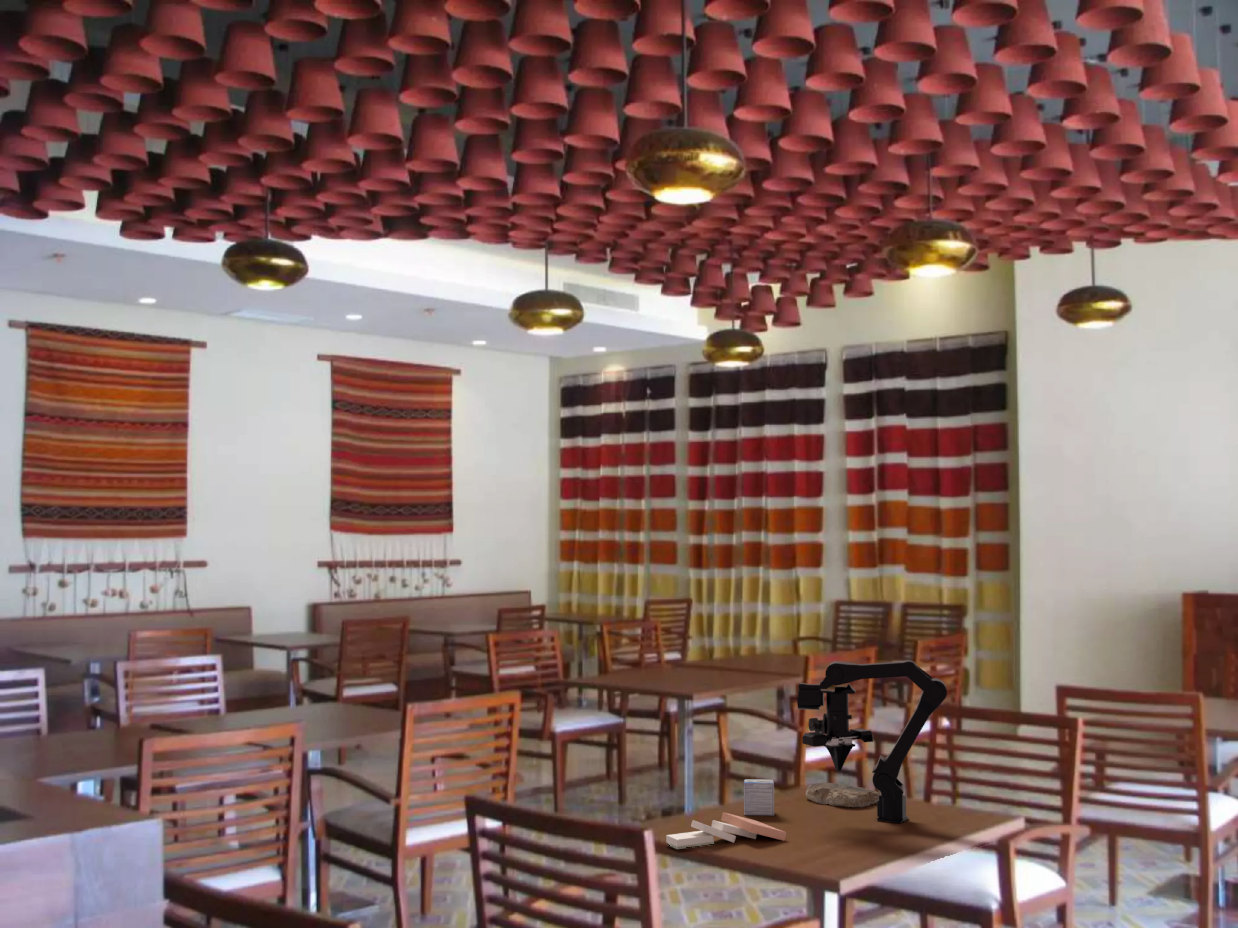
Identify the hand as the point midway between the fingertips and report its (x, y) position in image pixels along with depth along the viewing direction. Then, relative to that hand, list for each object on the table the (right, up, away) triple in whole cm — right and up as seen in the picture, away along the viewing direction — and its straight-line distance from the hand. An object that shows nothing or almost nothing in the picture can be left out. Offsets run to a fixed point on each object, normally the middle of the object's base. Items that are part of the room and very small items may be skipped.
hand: (838, 770), depth 326 cm
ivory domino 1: (-36, -9, -27) cm, 46 cm away
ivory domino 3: (-25, -10, -21) cm, 34 cm away
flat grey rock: (+3, -14, +20) cm, 24 cm away
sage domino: (-36, -11, -26) cm, 46 cm away
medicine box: (-20, -13, +4) cm, 24 cm away
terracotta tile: (-20, -10, -18) cm, 29 cm away
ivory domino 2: (-31, -10, -25) cm, 41 cm away
